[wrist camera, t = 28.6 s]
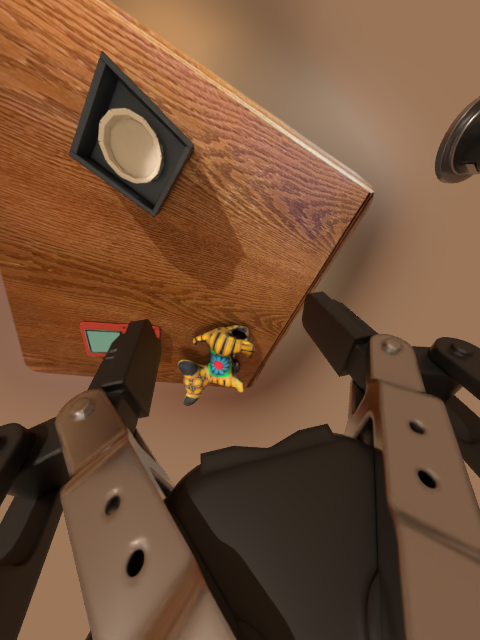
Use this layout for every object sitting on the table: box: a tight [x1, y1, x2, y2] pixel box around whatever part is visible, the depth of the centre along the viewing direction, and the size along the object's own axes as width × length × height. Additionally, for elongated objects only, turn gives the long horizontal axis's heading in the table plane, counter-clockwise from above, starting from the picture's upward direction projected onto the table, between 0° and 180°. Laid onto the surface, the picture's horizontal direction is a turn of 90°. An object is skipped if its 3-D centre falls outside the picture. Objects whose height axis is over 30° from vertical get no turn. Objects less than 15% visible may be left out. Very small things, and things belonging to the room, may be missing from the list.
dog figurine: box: [178, 325, 254, 406], centre depth 47 cm, size 20×12×18 cm
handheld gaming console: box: [79, 322, 160, 356], centre depth 43 cm, size 9×1×15 cm
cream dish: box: [98, 108, 164, 184], centre depth 23 cm, size 6×6×2 cm
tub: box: [69, 51, 194, 217], centre depth 25 cm, size 10×10×5 cm
